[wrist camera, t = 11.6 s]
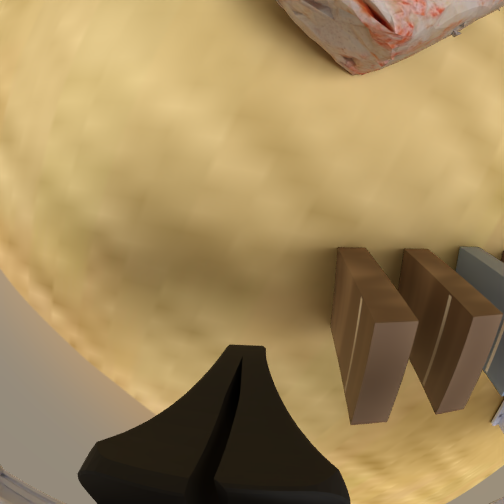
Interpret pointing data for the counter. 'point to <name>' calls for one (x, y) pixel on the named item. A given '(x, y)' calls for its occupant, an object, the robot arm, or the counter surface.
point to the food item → (382, 27)
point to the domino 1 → (369, 335)
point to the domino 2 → (446, 328)
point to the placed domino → (496, 291)
